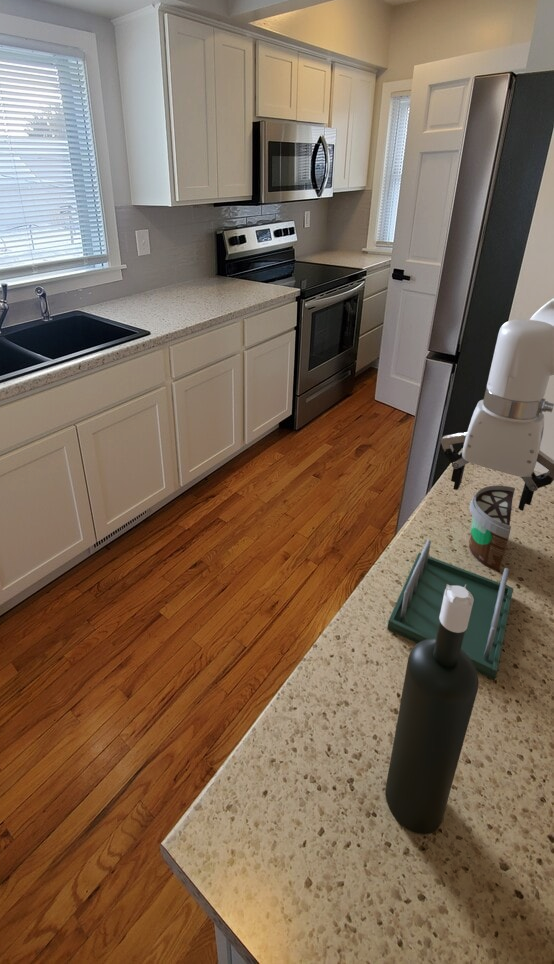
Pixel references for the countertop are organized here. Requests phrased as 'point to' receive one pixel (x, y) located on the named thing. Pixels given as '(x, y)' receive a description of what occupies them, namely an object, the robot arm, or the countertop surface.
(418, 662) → the wine bottle
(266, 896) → the countertop surface
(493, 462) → the robot arm
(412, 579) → the drying rack
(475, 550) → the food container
